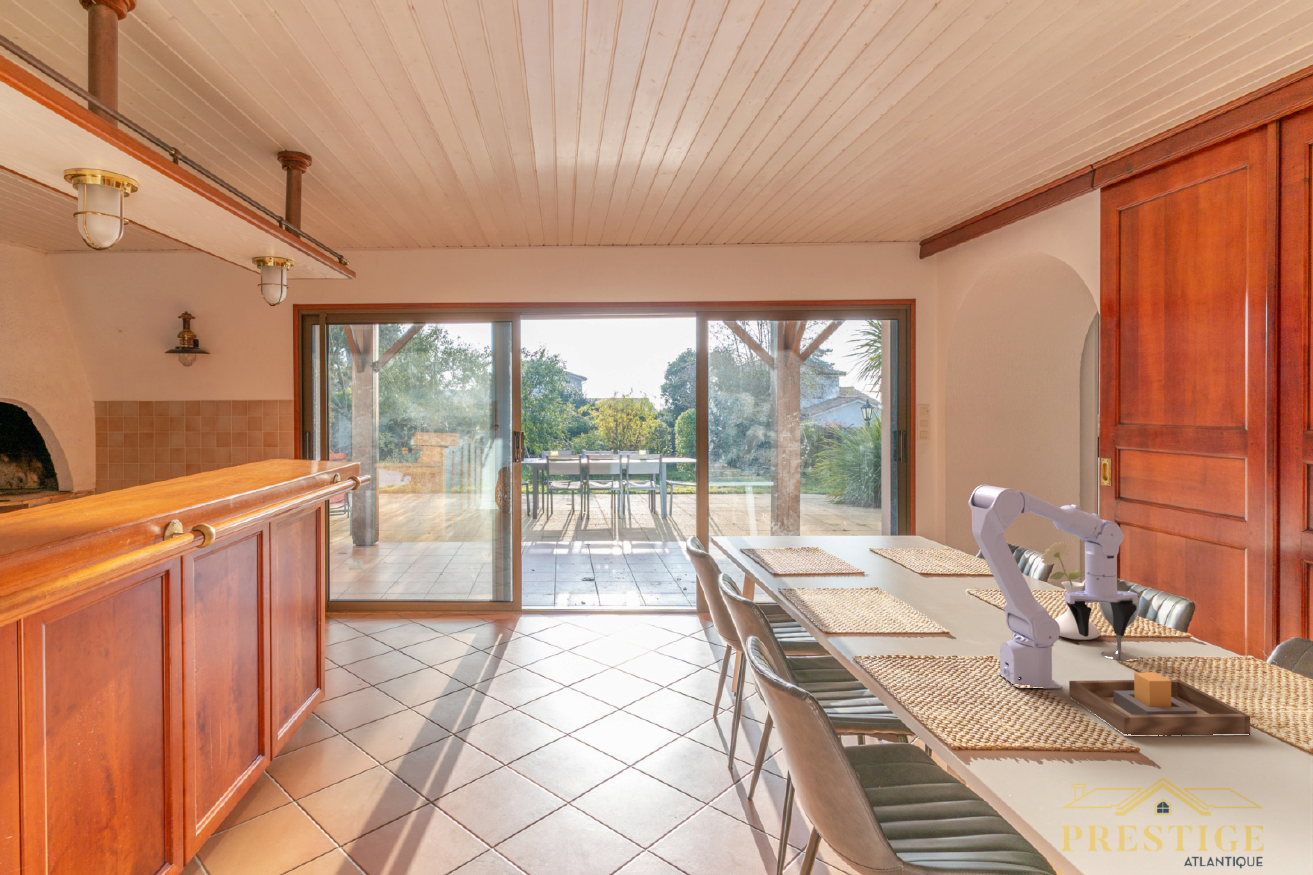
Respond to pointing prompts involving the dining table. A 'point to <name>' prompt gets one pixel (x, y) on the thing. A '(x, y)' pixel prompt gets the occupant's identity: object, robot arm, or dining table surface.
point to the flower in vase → (1067, 619)
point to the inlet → (1138, 708)
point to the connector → (1152, 689)
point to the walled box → (1206, 722)
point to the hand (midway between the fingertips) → (1101, 634)
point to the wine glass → (1117, 654)
